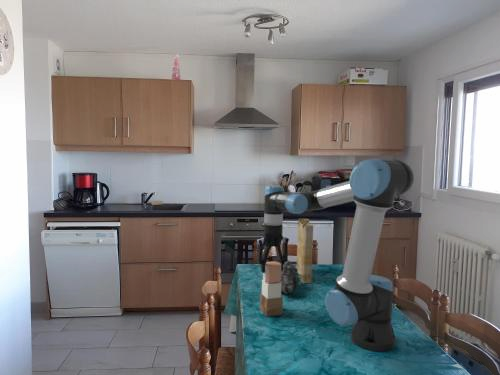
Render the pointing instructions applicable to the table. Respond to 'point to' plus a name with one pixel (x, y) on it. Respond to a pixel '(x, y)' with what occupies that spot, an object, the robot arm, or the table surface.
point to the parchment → (304, 250)
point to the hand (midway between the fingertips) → (271, 279)
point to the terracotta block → (273, 272)
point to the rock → (289, 277)
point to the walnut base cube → (271, 305)
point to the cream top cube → (271, 289)
